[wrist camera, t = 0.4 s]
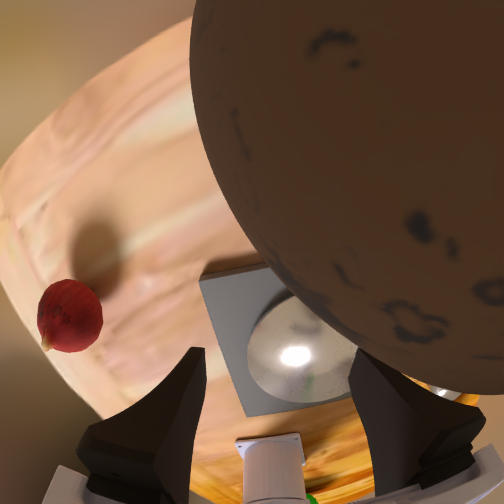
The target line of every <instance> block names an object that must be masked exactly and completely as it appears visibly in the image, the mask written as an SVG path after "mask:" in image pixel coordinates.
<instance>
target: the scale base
mask: <svg viewBox="0 0 504 504" xmlns="http://www.w3.org/2000/svg"><path fill="white" fill-rule="evenodd" d="M198 282H199V285H200V289H201V292H202V295H203V298H204V301H205V304H206V307H207V310H208V313H209V316H210V319H211V322H212V325H213V328H214V331H215V334H216V337H217V340H218V343H219V346H220V348H221V351H222V354H223V357H224V360H225V362H226V365H227V368H228V370H229V373H230V376H231V378H232V381H233V384H234V386H235V389H236V392H237V394H238V397H239V399H240V402H241V404H242V407H243V409H244V412H245V414H246V417H254V416H262V415H269V414H275V413H281V412H287V411H293V410H298V409H303V408H308V407H312V406H317V405H321V404H326V403H330V402H334V401H338V400H342V399H345V398H349V397H352V395H351V391H348V392H346V393H344V394H342V395H340V396H337V397H335V398H332V399H328V400H324V401H319V402H311V403H298V402H291V401H285V400H282V399H279V398H277V397H274V396H272V395H270V394H269V393H267V392H265V391H264V390H263V389H262V388H261V387H259V385H258V384H257V383H256V382H255V381H254V379H253V377H252V376H251V374H250V371H249V368H248V363H247V347H248V341H249V338H250V335H251V333H252V331H253V329H254V327H255V325H256V324H257V322H258V321H259V319H260V318H261V317H262V316H263V315H264V314H265V313H266V312H267V311H268V310H269V309H270V308H271V307H272V306H273V305H275V304H276V303H278V302H279V301H281V300H282V299H284V298H286V297H288V296H290V295H291V294H293V293H292V292H291V291H290V290H289V289H288V288H287V287H286V286H285V285H284V284H283V282H282V281H281V280H280V279H279V278H278V277H277V276H276V274H275V273H274V272H273V271H272V270H271V268H270V267H269V266H268V265H267V263H266V262H265V263H260V264H255V265H250V266H245V267H240V268H235V269H230V270H225V271H220V272H215V273H210V274H205V275H201V276H200V279H199V281H198Z"/></svg>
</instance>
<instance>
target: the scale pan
mask: <svg viewBox="0 0 504 504" xmlns="http://www.w3.org/2000/svg"><path fill="white" fill-rule="evenodd" d="M357 348H360V347H358V346H357V345H355V344H354V343H352V342H351V341H350V340H348V339H347V338H345V337H344V336H342V335H341V334H340V333H338V332H337V331H336V330H334V329H333V328H332V327H330V326H329V325H328V324H327V323H325V322H324V321H323V320H321V319H320V318H319V317H318V316H317V315H316V314H314V313H313V312H312V311H311V310H310V309H309V308H308V307H307V306H306V305H304V304H303V303H302V302H301V301H300V300H299V299H298V298H297V297H296V296H295V295H294V294H291V295H290V296H288V297H286V298H284V299H282V300H281V301H279V302H278V303H276V304H275V305H273V306H272V307H271V308H270V309H269V310H268V311H267V312H266V313H265V314H264V315H263V316H262V317H261V318H260V319H259V321H258V322H257V324H256V325H255V327H254V329H253V331H252V333H251V335H250V338H249V341H248V347H247V363H248V368H249V371H250V374H251V376H252V377H253V379H254V381H255V382H256V383H257V384H258V385H259V387H261V388H262V389H263V390H264V391H265V392H267V393H269V394H270V395H272V396H274V397H277V398H279V399H282V400H285V401H291V402H298V403H311V402H319V401H324V400H328V399H332V398H335V397H337V396H340V395H342V394H344V393H346V392H348V391H350V387H349V382H348V376H349V373H350V370H351V367H352V364H353V361H354V358H355V354H356V351H357Z"/></svg>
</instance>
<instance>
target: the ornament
mask: <svg viewBox="0 0 504 504" xmlns="http://www.w3.org/2000/svg"><path fill="white" fill-rule="evenodd" d="M306 498H307V499H310V504H318V503H317V502H316V498H314V497H313V496H312V495H310V494H308V493H306Z"/></svg>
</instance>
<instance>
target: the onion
mask: <svg viewBox="0 0 504 504" xmlns="http://www.w3.org/2000/svg"><path fill="white" fill-rule="evenodd" d="M102 325H103V316H102V306H101V304H100V302H99V299H98V297H97V296H96V294H95V293H94V292H93V290H91V289H90V288H89V287H87V286H86V285H85V284H83V283H82V282H79V281H75V280H71V279H65V280H61V281H58V282H56V283H54V284H52V285H50V286H49V287H48V288H47V289H46V290H45V292H44V294H43V296H42V297H41V300H40V302H39V305H38V314H37V326H38V329H39V332H40V334H41V336H42V348H43V350H44V351H48V350H49V349H52V348H54V349H55V350H58V351H62V352H67V353H71V352H79V351H82V350H85V349H86V348H88V347H89V346H90V345H91V344H93V343H94V342H95V341H96V340H97V339H98V336H99V334H100V331H101V328H102Z"/></svg>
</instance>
